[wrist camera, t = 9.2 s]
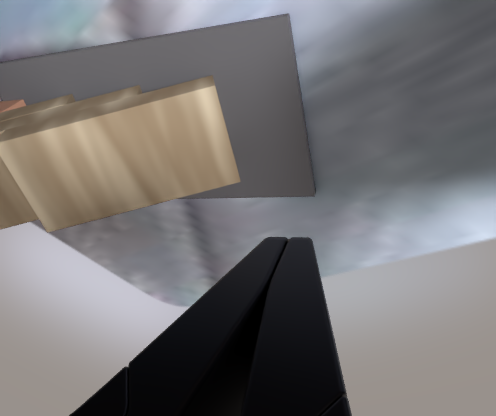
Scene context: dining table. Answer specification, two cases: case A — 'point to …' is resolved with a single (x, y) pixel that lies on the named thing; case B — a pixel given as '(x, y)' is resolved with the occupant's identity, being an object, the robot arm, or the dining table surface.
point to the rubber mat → (191, 68)
